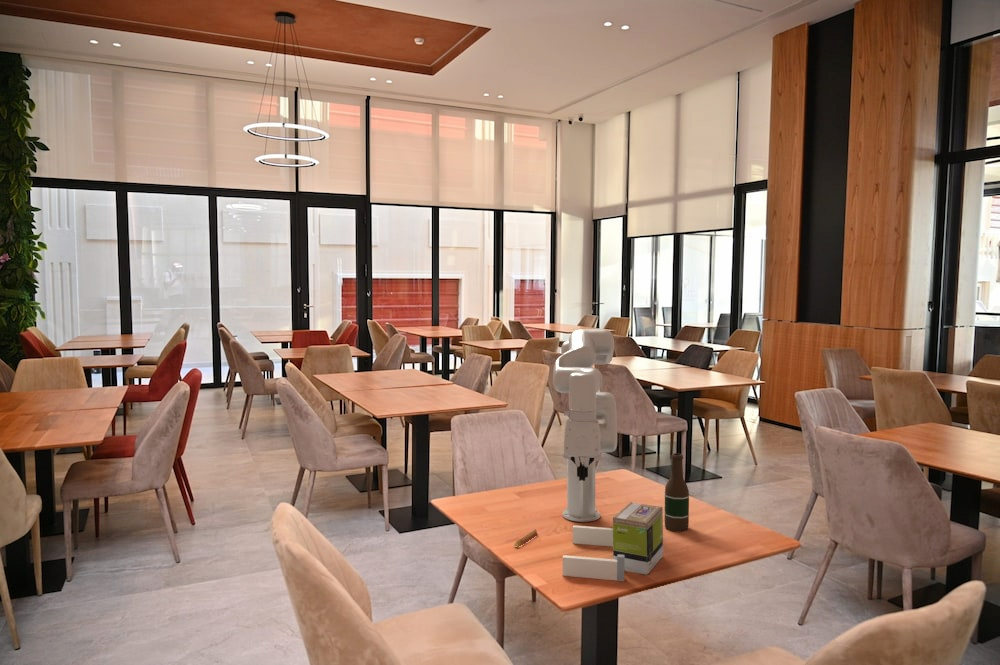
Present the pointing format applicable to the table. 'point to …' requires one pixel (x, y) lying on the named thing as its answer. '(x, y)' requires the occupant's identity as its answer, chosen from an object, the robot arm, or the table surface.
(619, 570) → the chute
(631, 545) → the tea box
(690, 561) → the table surface
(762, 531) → the table surface
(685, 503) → the beer bottle
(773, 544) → the table surface
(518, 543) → the chocolate bar
